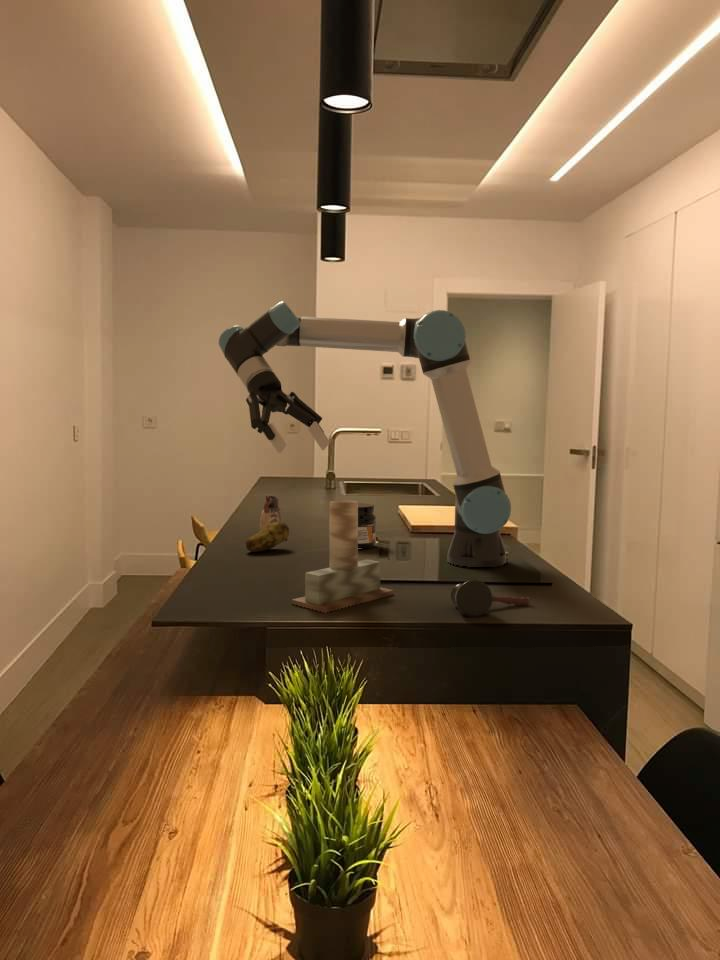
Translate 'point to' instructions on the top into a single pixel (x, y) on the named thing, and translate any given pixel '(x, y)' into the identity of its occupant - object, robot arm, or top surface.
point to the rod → (343, 534)
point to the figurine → (270, 511)
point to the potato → (268, 537)
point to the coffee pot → (479, 598)
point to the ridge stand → (342, 587)
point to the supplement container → (366, 525)
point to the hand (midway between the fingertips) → (305, 447)
